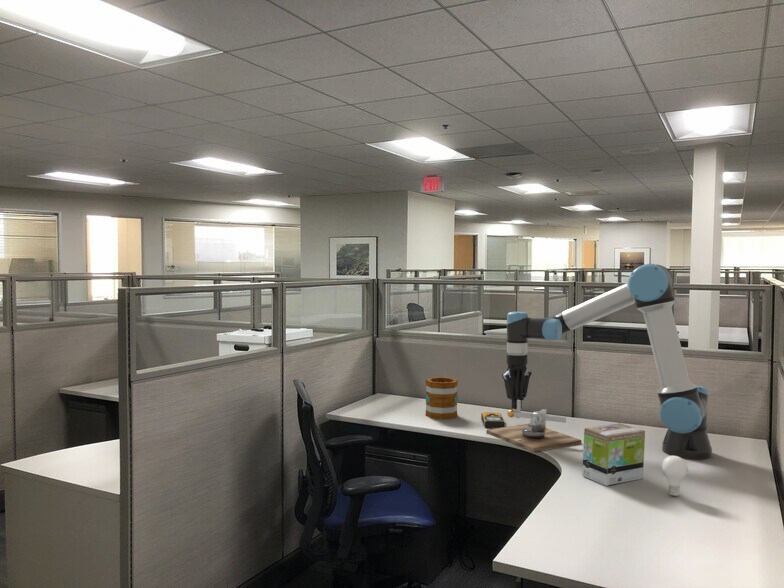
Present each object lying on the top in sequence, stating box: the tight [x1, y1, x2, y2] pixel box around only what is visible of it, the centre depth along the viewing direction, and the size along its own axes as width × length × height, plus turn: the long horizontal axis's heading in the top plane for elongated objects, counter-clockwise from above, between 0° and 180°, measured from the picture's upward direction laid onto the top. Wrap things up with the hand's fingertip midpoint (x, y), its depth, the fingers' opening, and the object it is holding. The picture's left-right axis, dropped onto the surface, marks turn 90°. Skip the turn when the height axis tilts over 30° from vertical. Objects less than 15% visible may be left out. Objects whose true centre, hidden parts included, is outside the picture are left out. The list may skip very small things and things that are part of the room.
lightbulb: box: [661, 455, 689, 497], centre depth 163 cm, size 6×6×11 cm
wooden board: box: [486, 423, 582, 453], centre depth 219 cm, size 26×22×2 cm
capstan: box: [507, 408, 567, 439], centre depth 216 cm, size 21×19×8 cm
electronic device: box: [480, 411, 506, 429], centre depth 240 cm, size 8×16×3 cm, turn 176°
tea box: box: [581, 422, 646, 487], centre depth 177 cm, size 15×10×15 cm, turn 117°
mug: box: [425, 376, 459, 421], centre depth 254 cm, size 20×14×15 cm
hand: (516, 417), depth 221 cm, fingers closed
